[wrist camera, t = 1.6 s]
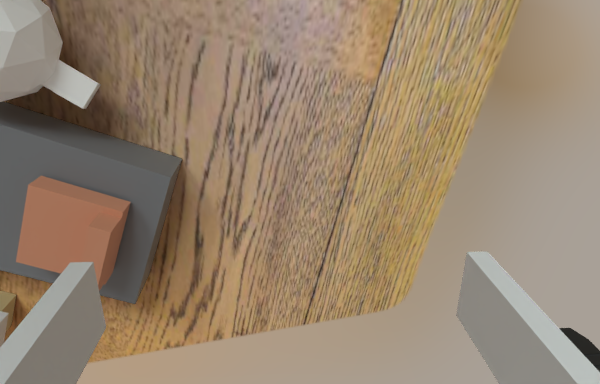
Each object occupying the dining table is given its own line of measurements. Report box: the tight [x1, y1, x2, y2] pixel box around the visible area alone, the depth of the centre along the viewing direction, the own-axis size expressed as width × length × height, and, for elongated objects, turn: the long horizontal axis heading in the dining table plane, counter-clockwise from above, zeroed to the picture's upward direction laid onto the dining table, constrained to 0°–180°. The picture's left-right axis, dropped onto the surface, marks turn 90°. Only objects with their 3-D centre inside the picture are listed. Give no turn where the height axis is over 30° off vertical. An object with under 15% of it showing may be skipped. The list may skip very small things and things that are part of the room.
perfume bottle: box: [0, 0, 101, 109], centre depth 32 cm, size 9×9×12 cm
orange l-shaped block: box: [16, 176, 131, 291], centre depth 34 cm, size 7×7×4 cm
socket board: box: [0, 102, 182, 304], centre depth 38 cm, size 18×13×5 cm
